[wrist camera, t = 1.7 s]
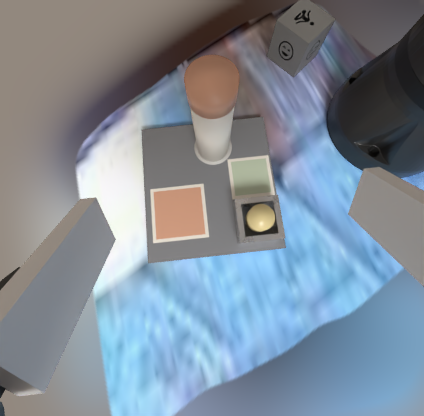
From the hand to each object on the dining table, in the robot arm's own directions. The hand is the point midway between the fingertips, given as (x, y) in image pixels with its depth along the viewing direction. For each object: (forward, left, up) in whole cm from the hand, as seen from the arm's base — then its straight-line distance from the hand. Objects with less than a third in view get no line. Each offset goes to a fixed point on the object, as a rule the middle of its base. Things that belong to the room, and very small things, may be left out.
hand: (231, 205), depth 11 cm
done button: (-4, -1, -12) cm, 13 cm away
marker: (0, -11, -14) cm, 18 cm away
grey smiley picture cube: (-13, -24, -15) cm, 31 cm away
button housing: (-4, -1, -14) cm, 15 cm away
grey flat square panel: (+1, -6, -15) cm, 16 cm away
